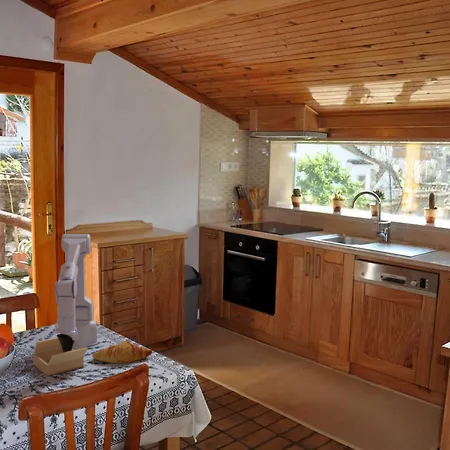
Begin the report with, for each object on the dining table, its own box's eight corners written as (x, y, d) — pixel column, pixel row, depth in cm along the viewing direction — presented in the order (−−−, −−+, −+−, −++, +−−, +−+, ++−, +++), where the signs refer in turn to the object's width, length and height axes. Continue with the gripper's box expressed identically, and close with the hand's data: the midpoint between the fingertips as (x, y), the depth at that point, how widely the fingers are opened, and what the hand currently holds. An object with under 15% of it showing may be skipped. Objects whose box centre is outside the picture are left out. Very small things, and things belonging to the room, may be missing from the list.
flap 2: (87, 346, 184) (87, 348, 184) (82, 355, 188) (82, 357, 187) (52, 355, 176) (52, 356, 176) (47, 364, 180) (48, 365, 180)
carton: (68, 356, 198) (68, 345, 197) (83, 366, 189) (83, 355, 188) (33, 365, 189) (32, 353, 189) (46, 376, 180) (46, 364, 180)
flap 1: (67, 345, 197) (67, 344, 197) (71, 335, 194) (70, 334, 194) (34, 353, 189) (33, 352, 189) (37, 342, 186) (36, 341, 186)
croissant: (92, 373, 192) (90, 357, 188) (93, 351, 200) (91, 335, 196) (152, 368, 196) (152, 353, 191) (151, 347, 204) (151, 332, 199)
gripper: (46, 312, 183) (47, 351, 185) (64, 323, 172) (65, 364, 174) (66, 308, 188) (67, 346, 189) (84, 319, 177) (85, 359, 178)
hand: (67, 354), depth 182 cm, fingers closed
